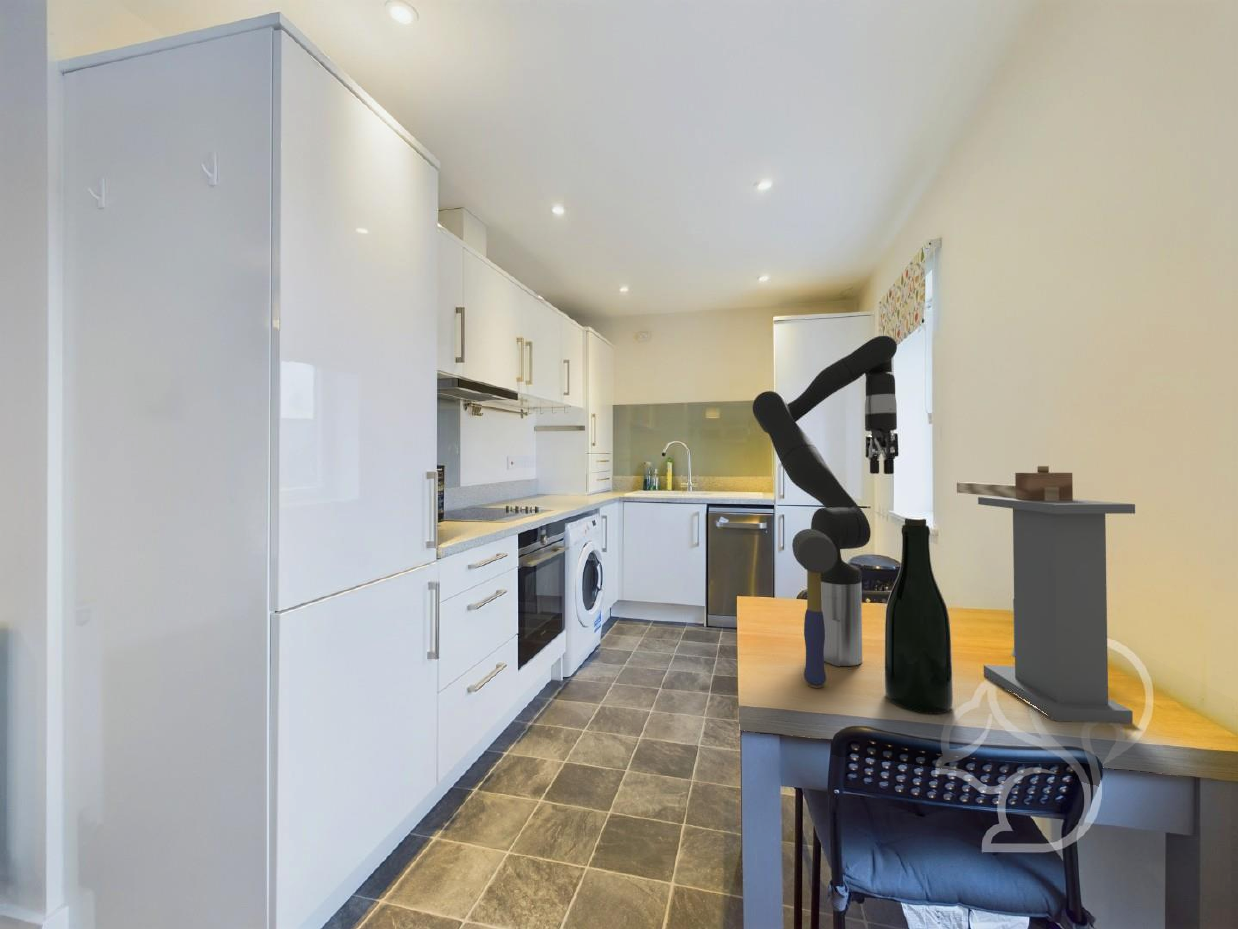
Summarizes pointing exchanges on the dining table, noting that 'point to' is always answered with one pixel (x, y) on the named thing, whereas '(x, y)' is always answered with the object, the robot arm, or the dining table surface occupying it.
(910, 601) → the dark green wine bottle
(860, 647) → the robot arm
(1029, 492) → the marking gauge
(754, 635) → the dining table surface
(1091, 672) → the plinth
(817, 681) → the rubber mallet
